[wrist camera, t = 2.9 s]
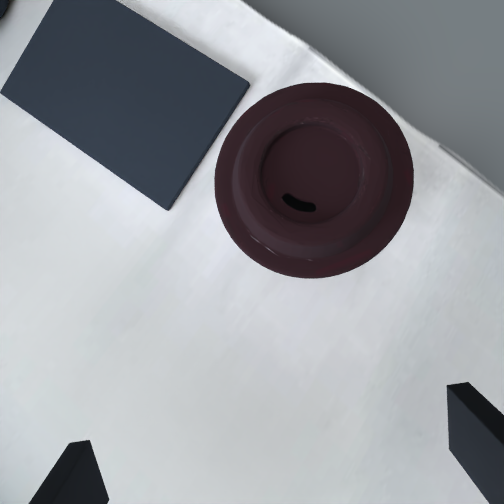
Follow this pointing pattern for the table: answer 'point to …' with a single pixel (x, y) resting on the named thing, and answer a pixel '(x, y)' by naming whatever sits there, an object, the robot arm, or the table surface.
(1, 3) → the computer mouse
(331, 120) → the coffee cup
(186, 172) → the mat
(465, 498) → the table surface
